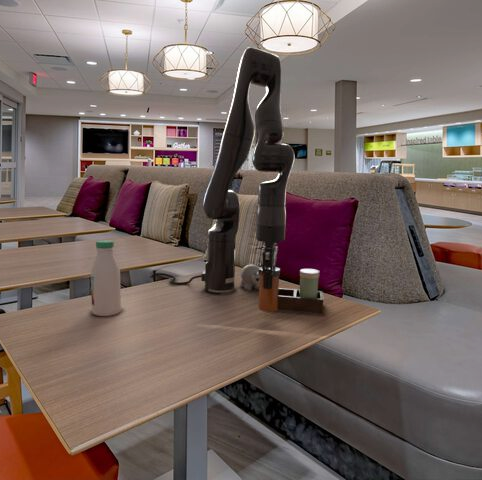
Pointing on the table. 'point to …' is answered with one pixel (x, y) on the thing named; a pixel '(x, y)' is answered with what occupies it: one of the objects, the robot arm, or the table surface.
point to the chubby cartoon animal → (250, 277)
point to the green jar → (309, 283)
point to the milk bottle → (105, 281)
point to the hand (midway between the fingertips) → (268, 285)
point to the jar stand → (299, 301)
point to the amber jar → (269, 291)
